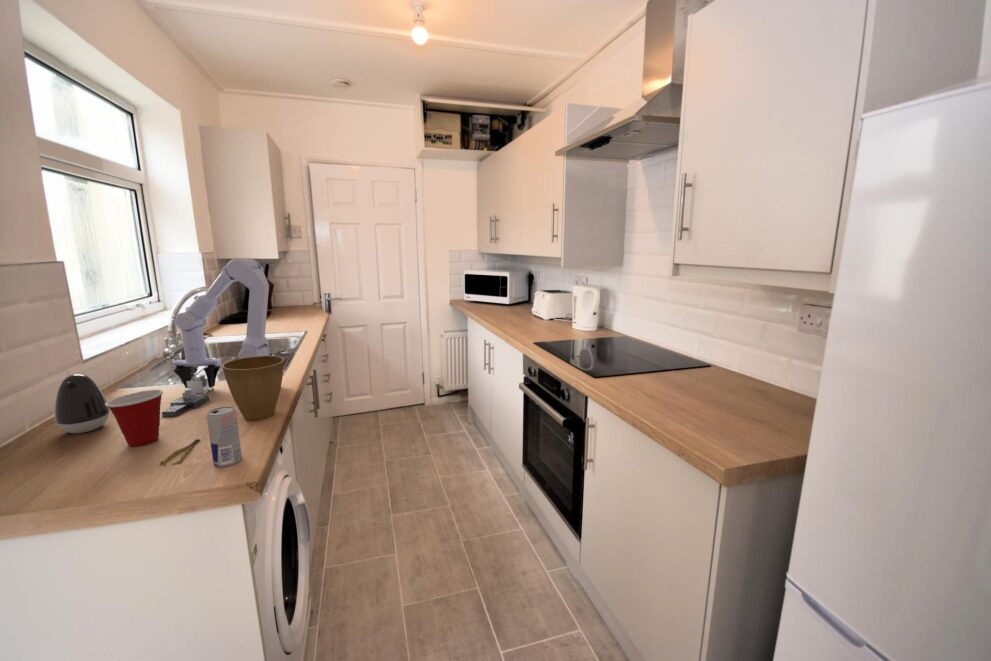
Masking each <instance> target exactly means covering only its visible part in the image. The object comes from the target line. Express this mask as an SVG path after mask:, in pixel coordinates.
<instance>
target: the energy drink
mask: <svg viewBox="0 0 991 661" xmlns="http://www.w3.org/2000/svg"><path fill="white" fill-rule="evenodd" d="M237 416H238V415H237V410H236V409H235V407H234V406H231V405H230V406H221V407H214V408H213V409H210V410H208V411H207V415H206V421H207V428H208V435H209V442H210V448H211V456H212V463H213V466H215V467H217V468H224V467H230V466H232V465H235V464H237V463H239V462H240V461H241V460H242V457H243V455H242V450H241V449H242V447H241V442H240V432H239V425H238V417H237Z"/></svg>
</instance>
